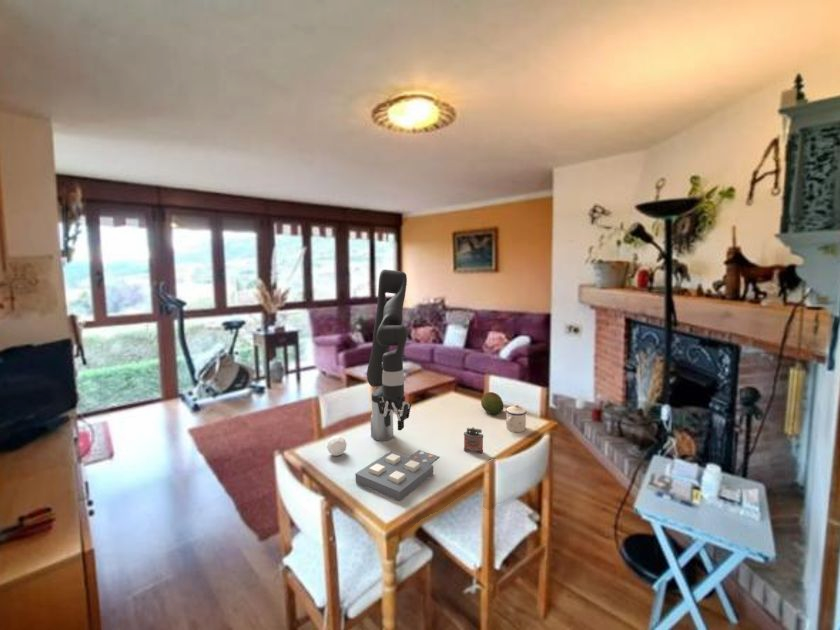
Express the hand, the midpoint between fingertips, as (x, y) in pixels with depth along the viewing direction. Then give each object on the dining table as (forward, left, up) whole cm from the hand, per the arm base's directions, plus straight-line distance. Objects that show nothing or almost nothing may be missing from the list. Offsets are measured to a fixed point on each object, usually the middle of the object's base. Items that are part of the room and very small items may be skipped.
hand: (394, 427), depth 143 cm
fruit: (+3, +77, -20) cm, 79 cm away
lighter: (+14, +34, -20) cm, 42 cm away
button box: (0, 0, -19) cm, 19 cm away
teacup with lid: (+20, +63, -20) cm, 69 cm away
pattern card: (0, +18, -19) cm, 26 cm away
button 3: (-5, -4, -17) cm, 18 cm away
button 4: (+4, -4, -17) cm, 18 cm away
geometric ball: (-31, +1, -20) cm, 37 cm away
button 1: (-4, +5, -17) cm, 18 cm away
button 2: (+4, +4, -17) cm, 18 cm away
